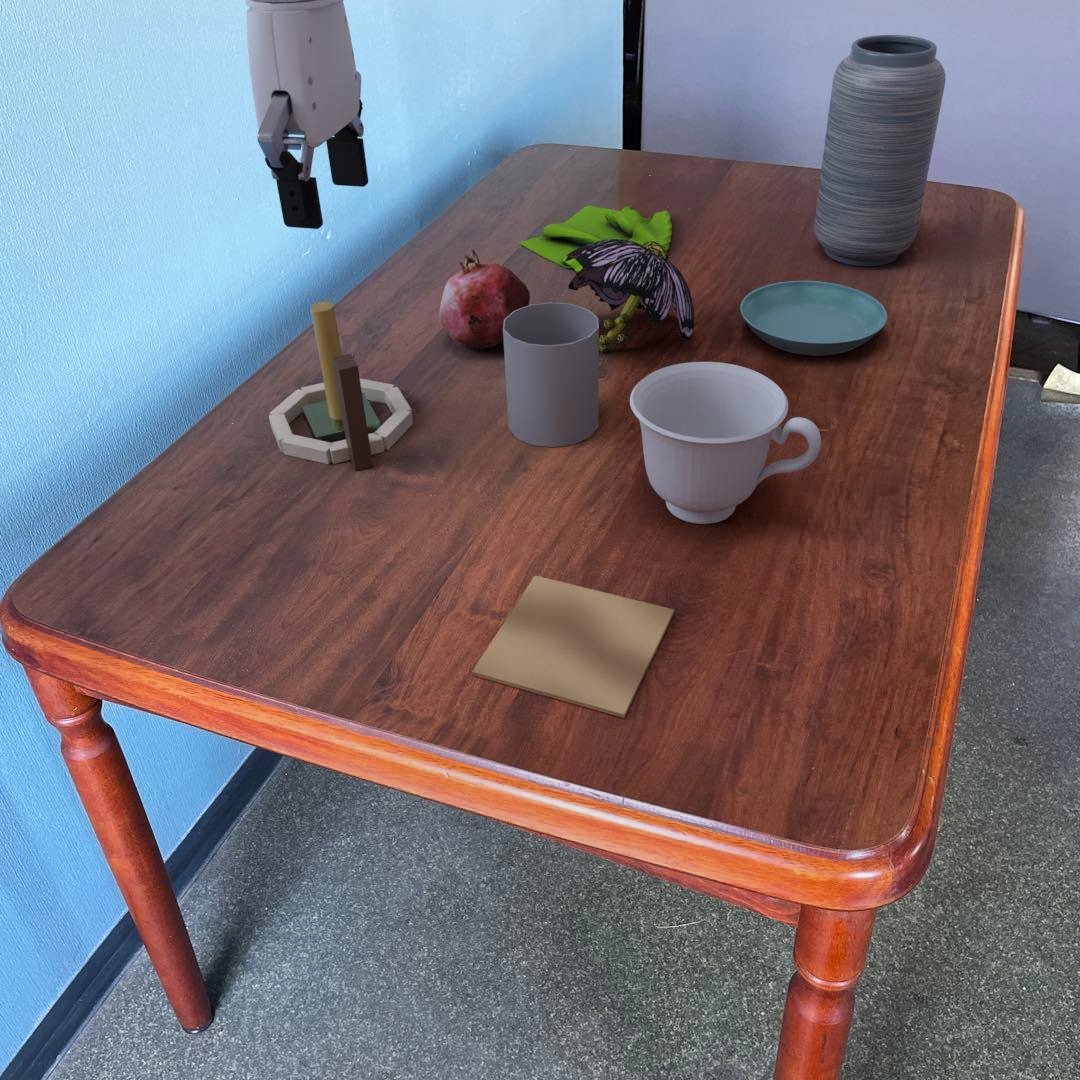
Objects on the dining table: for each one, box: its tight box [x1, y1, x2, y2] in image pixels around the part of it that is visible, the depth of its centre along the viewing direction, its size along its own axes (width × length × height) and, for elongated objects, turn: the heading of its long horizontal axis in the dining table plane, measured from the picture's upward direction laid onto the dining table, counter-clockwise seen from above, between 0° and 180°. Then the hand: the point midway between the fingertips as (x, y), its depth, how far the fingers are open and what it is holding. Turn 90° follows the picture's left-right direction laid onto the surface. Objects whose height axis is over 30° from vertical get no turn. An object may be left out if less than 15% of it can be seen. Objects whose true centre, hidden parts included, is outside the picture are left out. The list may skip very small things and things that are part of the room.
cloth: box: [518, 205, 673, 273], centre depth 132 cm, size 20×22×2 cm
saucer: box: [739, 280, 888, 357], centre depth 111 cm, size 15×15×3 cm
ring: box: [268, 353, 414, 472], centre depth 96 cm, size 14×12×10 cm
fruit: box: [438, 248, 531, 350], centre depth 109 cm, size 9×10×10 cm
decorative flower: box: [564, 239, 695, 353], centre depth 109 cm, size 14×12×15 cm
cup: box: [503, 301, 600, 448], centre depth 96 cm, size 8×8×10 cm
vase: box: [813, 34, 946, 267], centre depth 120 cm, size 12×12×23 cm
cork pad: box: [471, 575, 676, 719], centre depth 76 cm, size 11×11×1 cm
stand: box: [302, 300, 382, 443], centre depth 96 cm, size 6×6×12 cm
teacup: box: [629, 361, 822, 525], centre depth 85 cm, size 12×15×10 cm
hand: (328, 204), depth 90 cm, fingers open, 9 cm apart
